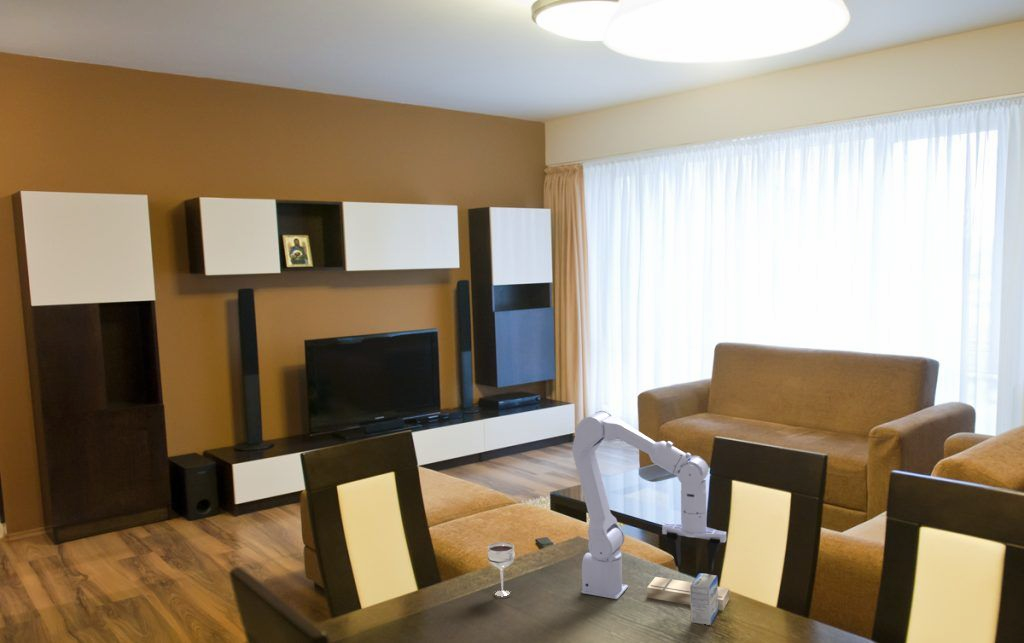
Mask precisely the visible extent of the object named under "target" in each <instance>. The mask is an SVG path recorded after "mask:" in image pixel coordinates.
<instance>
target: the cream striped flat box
mask: <svg viewBox="0 0 1024 643" xmlns="http://www.w3.org/2000/svg"><path fill="white" fill-rule="evenodd" d="M692 583H693V582H690V581H685V580H679V579H673V578H667V577H666V578H665V577H661V576H660V577H658V576H655V577H654V578H653V579H652V581H651V582H650V583H649V584H648V585H647V587H646V590H647V591H646V596H647V598H648V599H649V598H650V599H653V600H654V599H655V600H660V601H666V602H672V603H678V604H683V605H689V606H691V600H690V586H691V585H692ZM729 600H730V588H728V587H722V586H718V611H724V609H725V608H726V606H727V604H728V602H729Z"/></svg>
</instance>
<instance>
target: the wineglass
mask: <svg viewBox="0 0 1024 643" xmlns="http://www.w3.org/2000/svg"><path fill="white" fill-rule="evenodd" d="M514 549H515V545H514V544H513V543H511V542H506V541H498V542H493V543H490V544H489V545H488V546H487V550H488V552H487V560H488V562H489V564H491V565H492V566H493V567H494V568H497V569H498V570H499V573H500V587H501V591H500V590H497V592H496V591H495V592H496V593H495V595H497V596H501V597H503V596H507V595H509V594H510V592H511V591H510V592H509V590H506V589H505V590H506V591H505V590H504V571H505V569H506V568H508V567H509V566H511V564H513V563H514V561H515V558H516V553H515V550H514Z"/></svg>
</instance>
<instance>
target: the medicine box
mask: <svg viewBox="0 0 1024 643" xmlns="http://www.w3.org/2000/svg"><path fill="white" fill-rule="evenodd" d="M718 585H719V584H718V575H715V574H709V573H701V572H700V573H698V574H697V576H696V577H695V579H694V580H693V582H692V585H691V586H690V600H691V605H690V622H691V623H694V624H699V625H704V624H706V625H705V626H709V625H710V626H711V625H712V623H713V621H714V620H715V618H716V616H717V614H718V613H719V610H718V587H719V586H718Z"/></svg>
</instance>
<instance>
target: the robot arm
mask: <svg viewBox="0 0 1024 643" xmlns="http://www.w3.org/2000/svg"><path fill="white" fill-rule="evenodd" d="M574 431H575V435H574V438H573V439H574V440H573V442H572V443H573V444H572V448H571V450H572V451H571V452H572V455H573V461H574V462H575V463H574V464H575V467H576V471H577V474H578V478H579V481H580V482H579V483H580V486H581V491H582V493H583V494H582V495H583V498H584V502H585V505H586V509H587V513H588V517H589V524H588V527H587V528H588V529H587V534H588V542H587V548H588V551H589V552H586V553H585V554H584V555H583V559H582V563H581V579H582V580H581V582H582V583H581V586H582V589H581V593H582V594H584V595H585V594H586V595H591V596H596V597H597V596H598V597H603V598H607V599H608V598H609V599H612V600H613V599H614V600H618V599H619V598H620V597H621V596H622V595H623V593H625V591H626V590H627V589H628V588H629V585H628V584H623V562H622V561H623V560H622V559H623V558H622V556H623V555H622V551H621V546H623V545H624V543H625V537H626V536H625V533H624V530H623V529H622V528H621V526H620V525H619V523H618V520H617V517H616V516H614V515H613V514H612V512H611V510H610V505H609V501H608V497H607V494H606V489H605V485H604V482H603V478H602V475H601V470H600V468H599V464H598V460H597V455H596V450H597V449H598V448H599V446H600V445H601V443H602V441H603V440H604V441H605V442H607V441H615V440H618V441H619V440H620V441H621V442H624V443H626V444H627V445H629V446H631V447H633V448H636V449H638V450H640V451H641V452H643V453H645V454H648V456H649V459H650V461H651V462H652V463H653V464H654V465H656V466H659V467H660V468H661V469H664V470H666V471H667V472H669V473H670V474H672V475H674V476H677V479H678V480H679V482H680V484H681V485H680V520H681V521H680V524H679V523H678V524H676V523H664V524H663V525H662V526H661V528H662V530H661V532H662V533H661V534H662V535H666V537H665V542H666V543H667V545H668V547H669V549H670V550H671V554H672V558H673V561H674V564H675V567H679V566H680V565H681V564H682V557H681V556H682V554H681V544H682V537H687V538H696V539H703V540H708V542H707V543H706V547H707V548H706V549H707V558H708V559H707V561H708V564H707V571H708V572H709V573H713V572H712V571H713V570H714V566H715V561H716V559H717V558H716V557H717V554H718V551H719V549H720V547H721V545H722V543H723V544H724V543H726V542H727V531H723V530H717V529H715V528H711V527H708V525H707V489H706V488H707V483H706V478H707V476H708V475H709V474H708V473H709V465H708V463H707V462H706V461H705V460H704V459H703V458H702V457H701V455H700V456H699V455H692V454H691V453H690V452H684V451H682V450H680V449H679V448H677V447H675V446H674V442H672V441H670V440H668V441H666V440H660V441H654V440H653V439H652V438H650V437H649V436H646V435H645V434H643V433H642V432H641V431H639V430H637V429H636V428H634V427H632V426H631V425H630V424H628V423H626V422H625V421H623V419H621V418H619V416H618V415H614V414H612V413H611V412H609V411H606V410H599V411H596V412H595V413H594V414H591V415H589V416H585V417H584V418H582V419H581V420H580V421H579V423H578V424H577V425H576V427H575V428H574Z"/></svg>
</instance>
